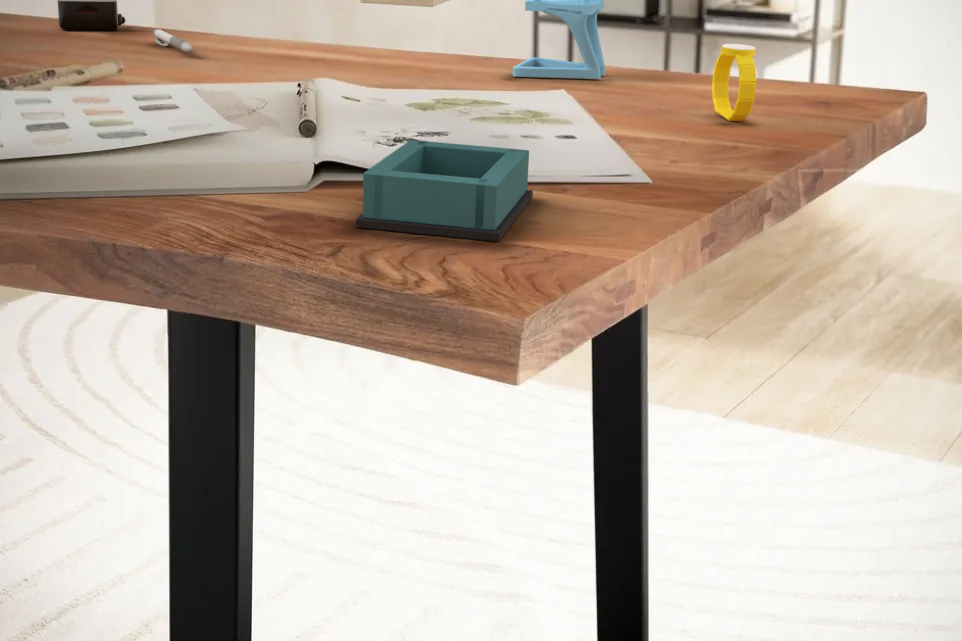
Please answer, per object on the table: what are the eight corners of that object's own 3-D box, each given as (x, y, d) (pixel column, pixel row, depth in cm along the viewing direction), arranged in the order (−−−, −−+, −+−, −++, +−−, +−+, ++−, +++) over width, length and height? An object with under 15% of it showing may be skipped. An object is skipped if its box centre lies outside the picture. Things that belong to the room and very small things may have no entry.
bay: (405, 186, 76) (406, 138, 75) (532, 198, 75) (535, 149, 74) (355, 227, 67) (355, 173, 66) (498, 242, 65) (501, 187, 64)
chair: (595, 83, 117) (604, -48, 112) (511, 76, 119) (517, -53, 115) (609, 72, 124) (618, -52, 120) (529, 66, 126) (536, -56, 122)
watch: (701, 111, 105) (708, 40, 103) (731, 111, 106) (739, 41, 104) (728, 125, 99) (736, 50, 97) (760, 125, 100) (768, 51, 98)
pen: (160, 40, 133) (159, 26, 132) (196, 58, 122) (196, 44, 121) (150, 40, 132) (150, 27, 132) (186, 59, 121) (186, 44, 121)
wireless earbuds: (125, 31, 139) (124, 1, 137) (59, 30, 137) (56, 0, 136) (126, 26, 143) (124, -3, 142) (61, 25, 141) (59, -4, 140)
